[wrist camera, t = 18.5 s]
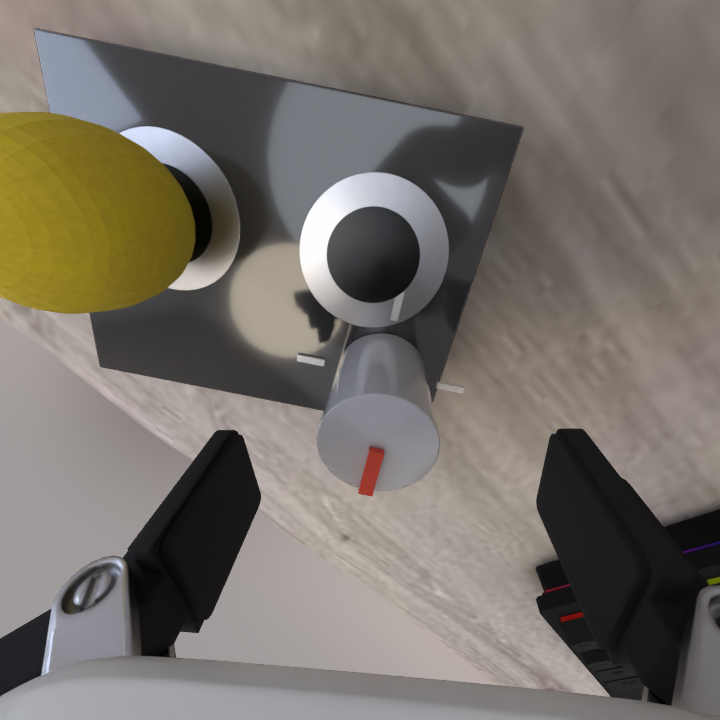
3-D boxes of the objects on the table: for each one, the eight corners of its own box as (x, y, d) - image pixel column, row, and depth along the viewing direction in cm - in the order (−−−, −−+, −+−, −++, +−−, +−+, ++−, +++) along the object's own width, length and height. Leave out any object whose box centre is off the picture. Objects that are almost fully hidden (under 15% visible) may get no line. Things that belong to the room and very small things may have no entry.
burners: (469, 189, 13) (470, 189, 13) (425, 338, 16) (426, 339, 16) (80, 111, 13) (76, 110, 13) (107, 275, 16) (103, 276, 16)
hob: (533, 143, 14) (562, 132, 12) (434, 426, 21) (440, 455, 19) (88, 53, 14) (27, 24, 12) (133, 367, 21) (101, 388, 18)
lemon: (180, 304, 16) (8, 391, 9) (78, 206, 14) (-238, 214, 7) (256, 225, 14) (117, 253, 7) (149, 101, 12) (-182, -31, 5)
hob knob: (345, 324, 16) (323, 386, 11) (435, 343, 16) (458, 414, 11) (331, 400, 18) (307, 484, 13) (412, 417, 18) (421, 507, 13)
